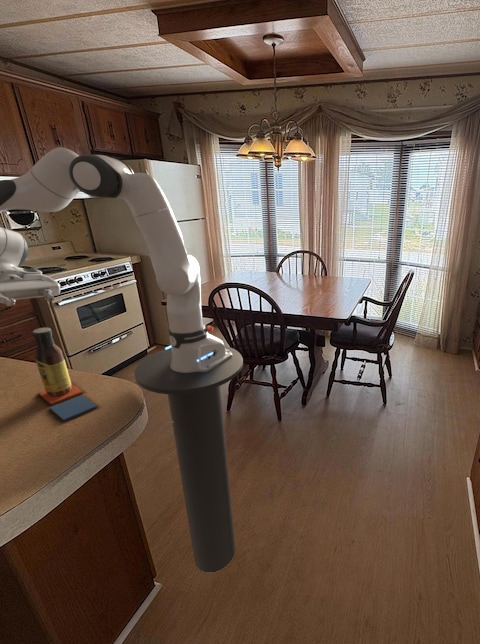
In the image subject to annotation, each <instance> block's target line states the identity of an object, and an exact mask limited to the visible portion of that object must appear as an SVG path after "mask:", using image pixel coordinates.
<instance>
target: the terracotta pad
mask: <svg viewBox="0 0 480 644" xmlns="http://www.w3.org/2000/svg"><path fill="white" fill-rule="evenodd" d="M71 386H72V388H71V390H70V391H69V392H68V393H65V394H63V395H59V396H50V395H48V394H47V392H46V391H45V390H42V391H39V392H38V395H39V396H40V397H41V398H42V399H44V400H45V401H46V402H48V403H49V404H50V405H51V406H54V404H55V405H56V404H59V403H62V402H64V401H67V400H70V399H72V398H75V397H77V396H80V395H82V394H83V393H84V391H83V390H82V389H80V388H79V387H77V386H76V385H74V383H72V382H71Z"/></svg>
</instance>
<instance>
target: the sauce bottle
mask: <svg viewBox="0 0 480 644" xmlns="http://www.w3.org/2000/svg"><path fill="white" fill-rule="evenodd" d="M32 337H34V340H35V343H36V349H35V350H36V351H35V356H34V360H35V363H36V366H37V370H38V372H39V375H40V378H41V381H42V385H43V388H44V391H46V392H47V394H48V395H50V396H59V395H63V394H65V393H68V392H69V391H70V390H71V388H72V386H71V383H72V381H71V378H70V374H69V370H68V365H67V362H66V359H65V357H64V354H63V351H62V349H61V347H60V346H58V345H57V344H56V343H55V340H54V338H53V331H52V329H51V328H50V327H39V328H36V329H34V330H32Z"/></svg>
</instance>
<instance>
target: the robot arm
mask: <svg viewBox="0 0 480 644" xmlns="http://www.w3.org/2000/svg"><path fill="white" fill-rule="evenodd" d="M80 192H82V193H83V194H85V195H87V196H91V197H94V198H100V199H101V198H103V199H104V198H105V199H106V198H107V199H109V198H110V199H117V198H119V199H121V200H122V201H124V203H125V204H126V206H127V207H128V209H129V211H130V213H131V215H132V218H133V219H134V221H135V223H136V225H137V227H138V230H139V232H140V235H141V237H142V239H143V241H144V243H145V245H146V248H147V252H148V255H149V258H150V262H151V265H152V268H153V271H154V274H155V280H156V284H157V286H158V288H159V289H160V291H162V292H163V293H165V294H166V314H167V315H166V316H167V321H168V337H169V343H170V345H169V346H166V347H164V350H167V349H169V348H171V363H170V368H171V369H172V370H173V371H176V372H181V373H191V372H207V371H209V370H211V369H213V368H214V367H216V366H217V365H219V364H221V363H222V362H224V361H226V360H227V359H229V358H231V357H232V353H231V352H230V351H229V350H227V349H225V346H226V345H225V343H224V342H223V338H222V337H218V336H215V335H213V334H210V333H212V332H214V330H215V329H214V326H211V325H206V324H204V320H203V311H202V285H201V281H202V280H201V269H200V268H201V267H200V264H199V261H198V260H197V259H196V258H195V257H194V256H193V255H192V254H189V253H188V252H187V249H186V245H185V243H184V237H183V234H182V230H181V229H180V225H179V224H178V221H177V219H176V217H175V215H174V212H173V209H172V207H171V204H170V202H169V201H168V199H167V197H166V195H165V193H164V191H163V189H162V188H161V186H160V185H159V183H158V182H157V180H156V178H155V177H153V175H151V174H149V173H145V172H134V170H133V168H132V167H131V166H130V165H129V164H128V163H126V162H125V161H123V160H121V159H119V158H115V157H110V156H108V155H103V154H92V153H91V154H90V153H86V154H85V153H84V154H81V155H79V154H78V153H76V152H75V151H73V150H71V149H69V148H66V147H62V146H61V147H54V148H53V149H52V150H50V151H48V152H47V153H46V154H44V155H43V156H42V157H40V158H39V160H38V161H37V162H36V163H35V164H34V165H32V167H31V168H30V170H28V171H27V172H26V173H24V174H22V175H20V176H18V177H15V178H11V179H2V180H0V214H2V213H3V212H6V211H11V210H22V211H23V210H24V211H25V210H26V211H34V212H40V213H55V212H59V211H61V210H63V209H65V208H66V207H68V205H70V203H71V202H72V201H73V200H74V198H76V197H77V195H78V194H79V193H80ZM28 254H29V246H28V243H27V240H26V238H25V237H24V236H23V235H22V234H21V233H20V232H18V231H15V230H12V229H8V228H6V227H5V228H4V227H1V226H0V304H3V305H6V306H7V307H12V306H16V301H19V300H28V299H37V298H44V300H45V301H47V302H54V301H55V296H60V294H61V284H60V283H59V282H58V281H56V280H55V279H54V278H52V277H50V276H48V275H46V274H43V271H41V270H39V269H34V268H23V267H21V266H22V265H23V264H24V262H25V261H26V259H27V257H28Z"/></svg>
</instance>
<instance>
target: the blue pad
mask: <svg viewBox="0 0 480 644" xmlns="http://www.w3.org/2000/svg"><path fill="white" fill-rule="evenodd" d="M97 408H98V407H97V405H96V404H95V403H93V402H92V401H90V399H88V398H86V397H85V396H84V395H82V394H80V395H77V396H75V397H72V398H69V399H67V400H64V401H62V402H59V403H56V404H55V405H51V406H50V407H49V410H50V411H51V412H53V413H54V414H55V415H56V416H57V417H58V418H59V419H61V420H62V421H63V422H66V421H68V420H71V419H73V418H75V417H78V416H80V415H83V414H85V413H87V412H90V411H92V410H95V409H97Z"/></svg>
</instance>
